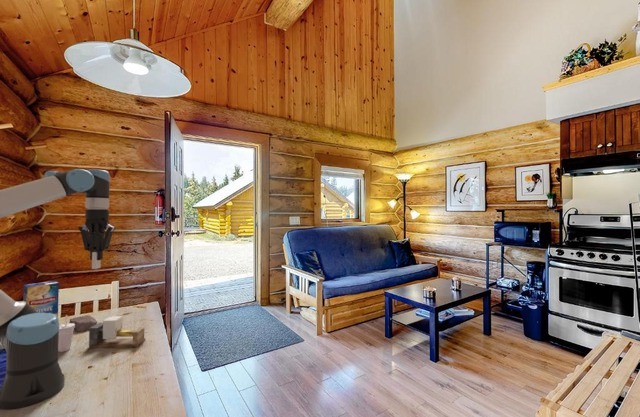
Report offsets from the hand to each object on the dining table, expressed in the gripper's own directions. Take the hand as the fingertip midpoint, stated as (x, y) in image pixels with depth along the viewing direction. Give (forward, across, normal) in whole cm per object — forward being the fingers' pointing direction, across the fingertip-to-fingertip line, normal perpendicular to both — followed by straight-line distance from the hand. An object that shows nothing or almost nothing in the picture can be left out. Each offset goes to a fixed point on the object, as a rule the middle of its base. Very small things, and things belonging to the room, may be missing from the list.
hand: (96, 268), depth 116 cm
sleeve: (+31, -1, -10) cm, 33 cm away
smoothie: (+35, +15, -5) cm, 38 cm away
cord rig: (+34, -3, -10) cm, 36 cm away
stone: (+35, +25, -29) cm, 52 cm away
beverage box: (+35, +42, -25) cm, 60 cm away
